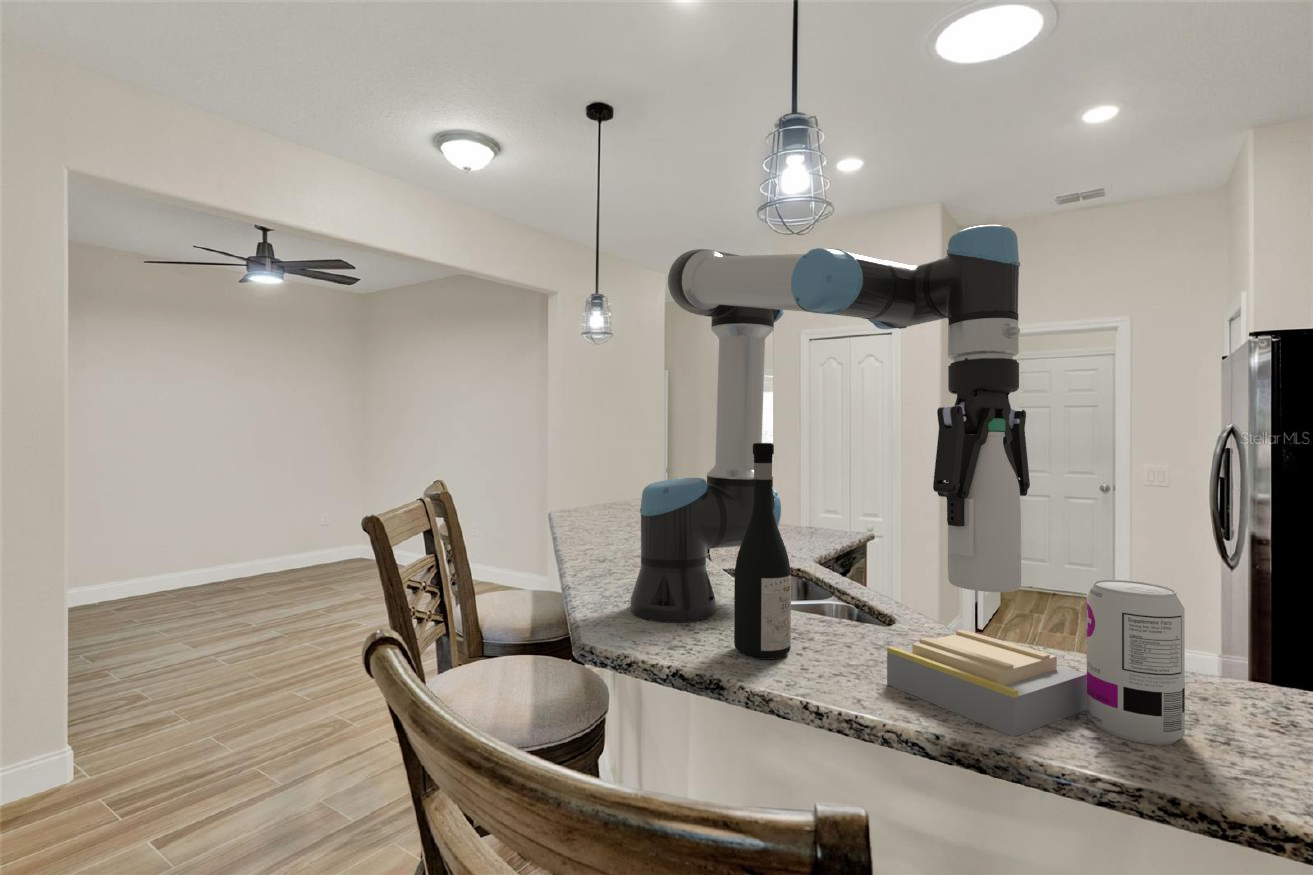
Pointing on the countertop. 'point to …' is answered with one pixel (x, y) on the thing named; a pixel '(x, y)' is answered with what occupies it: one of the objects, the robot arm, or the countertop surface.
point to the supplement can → (1136, 661)
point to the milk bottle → (992, 522)
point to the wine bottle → (762, 574)
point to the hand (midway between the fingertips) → (983, 551)
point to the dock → (988, 681)
